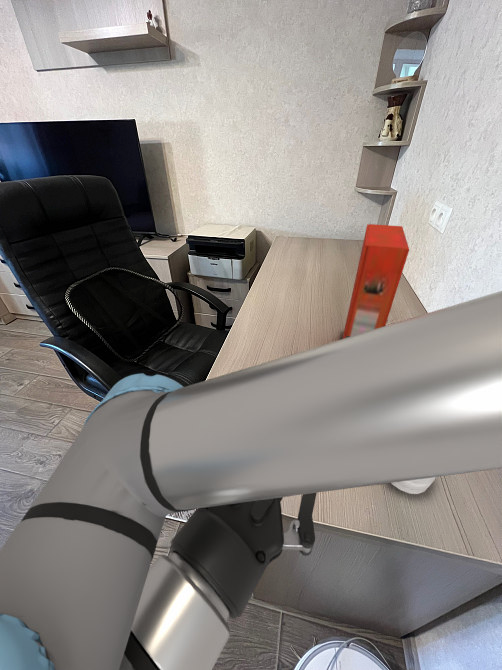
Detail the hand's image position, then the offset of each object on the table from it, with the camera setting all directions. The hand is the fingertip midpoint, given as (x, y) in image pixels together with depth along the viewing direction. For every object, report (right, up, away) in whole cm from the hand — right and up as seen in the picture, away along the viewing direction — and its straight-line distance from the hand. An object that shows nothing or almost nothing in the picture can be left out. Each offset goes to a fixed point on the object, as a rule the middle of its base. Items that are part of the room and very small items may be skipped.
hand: (321, 398), depth 37 cm
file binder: (+19, +4, +40) cm, 44 cm away
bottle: (+18, -16, +12) cm, 27 cm away
